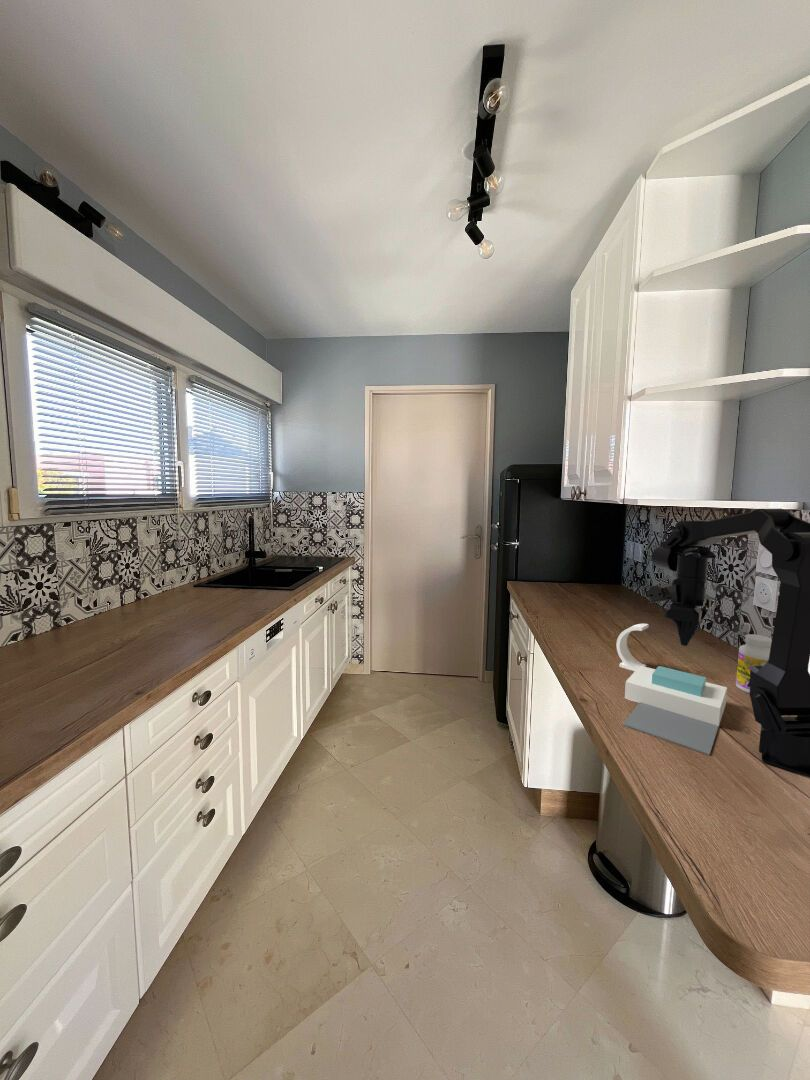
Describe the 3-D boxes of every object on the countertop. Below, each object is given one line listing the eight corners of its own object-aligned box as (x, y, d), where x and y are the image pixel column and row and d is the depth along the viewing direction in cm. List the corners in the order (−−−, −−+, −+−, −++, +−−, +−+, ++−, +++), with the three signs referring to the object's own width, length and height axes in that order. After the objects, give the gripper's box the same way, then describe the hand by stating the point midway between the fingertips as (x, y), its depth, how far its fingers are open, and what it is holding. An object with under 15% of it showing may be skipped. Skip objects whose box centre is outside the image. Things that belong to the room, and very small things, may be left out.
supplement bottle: (728, 683, 100) (732, 632, 98) (756, 683, 100) (761, 632, 98) (750, 696, 93) (755, 642, 92) (780, 697, 93) (786, 642, 91)
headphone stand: (639, 672, 106) (641, 627, 105) (615, 665, 111) (617, 622, 109) (646, 667, 109) (648, 624, 108) (622, 661, 114) (624, 619, 112)
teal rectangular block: (705, 687, 89) (706, 677, 89) (700, 696, 85) (701, 686, 85) (658, 674, 96) (658, 665, 95) (651, 683, 91) (652, 674, 91)
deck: (725, 704, 90) (727, 687, 89) (718, 727, 81) (720, 708, 81) (639, 681, 101) (640, 665, 101) (624, 698, 93) (625, 681, 92)
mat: (718, 727, 81) (718, 726, 81) (709, 755, 72) (709, 753, 72) (639, 703, 91) (639, 701, 90) (623, 725, 82) (623, 724, 82)
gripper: (659, 566, 105) (656, 625, 107) (640, 577, 92) (636, 644, 93) (713, 571, 97) (708, 634, 99) (701, 584, 84) (695, 657, 86)
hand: (686, 641), depth 94 cm, fingers open, 6 cm apart
